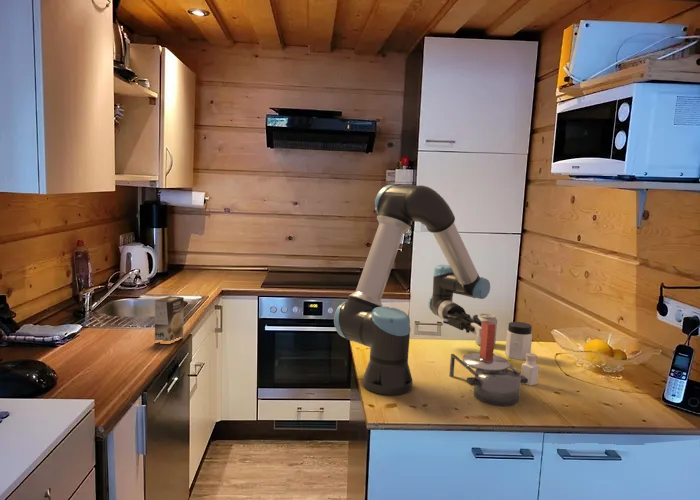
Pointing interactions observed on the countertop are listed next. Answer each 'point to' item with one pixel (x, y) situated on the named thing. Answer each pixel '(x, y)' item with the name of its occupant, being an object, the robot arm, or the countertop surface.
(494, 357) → the lid
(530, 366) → the salt shaker
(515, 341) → the jar
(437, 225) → the robot arm
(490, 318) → the can
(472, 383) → the cooker
